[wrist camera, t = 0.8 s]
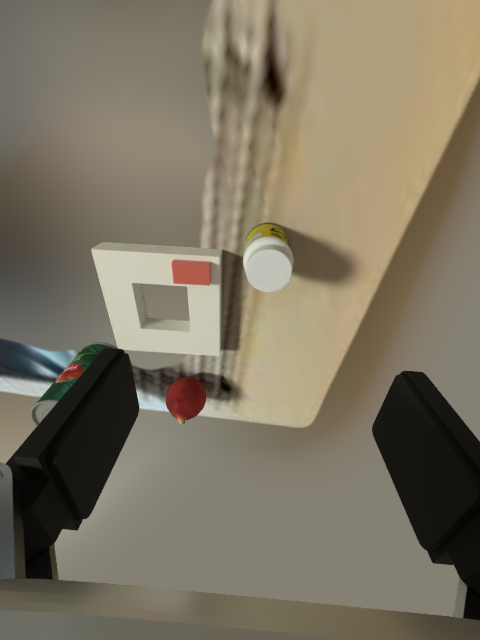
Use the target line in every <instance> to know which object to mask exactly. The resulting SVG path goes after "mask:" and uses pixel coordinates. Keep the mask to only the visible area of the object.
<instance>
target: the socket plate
mask: <svg viewBox="0 0 480 640" xmlns="http://www.w3.org/2000/svg"><path fill="white" fill-rule="evenodd" d="M91 251H92V255H93V258H94V262H95V265H96V269H97V273H98V277H99V280H100V284H101V288H102V291H103V295H104V299H105V302H106V306H107V310H108V314H109V317H110V321H111V324H112V328H113V332H114V335H115V339H116V343H117V346H118V349H123V350H137V351H152V352H166V353H181V354H196V355H211V356H220V352H221V346H222V249H208V248H190V247H174V246H157V245H140V244H122V243H106V242H102V243H100V244H99V245H97V246H95V247H94V248H92V249H91ZM141 284H158V285H174V286H187V289H188V303H189V316H190V321H182V320H181V321H180V320H166V319H151V318H147V313H146V308H145V302H144V296H143V291H142V285H141Z"/></svg>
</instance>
